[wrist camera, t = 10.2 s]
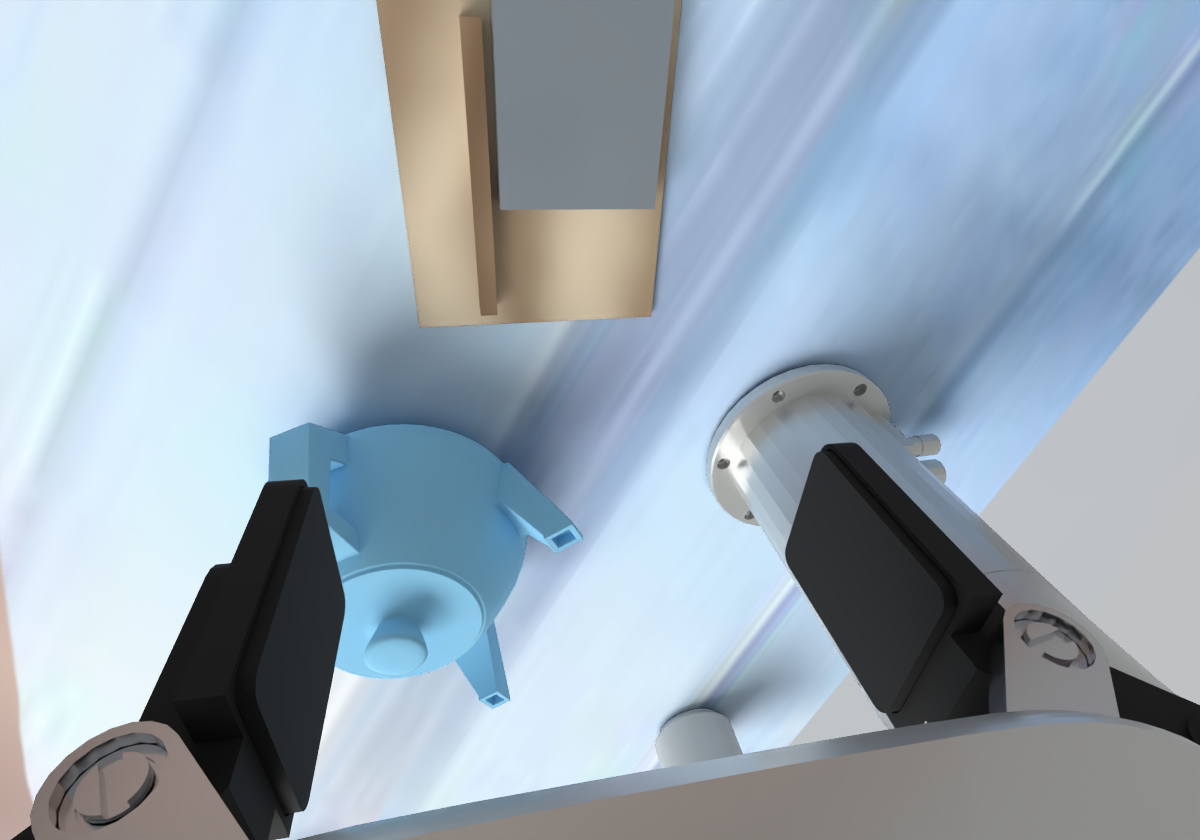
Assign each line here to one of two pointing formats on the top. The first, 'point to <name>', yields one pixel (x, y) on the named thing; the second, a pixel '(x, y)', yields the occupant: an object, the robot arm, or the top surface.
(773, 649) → the top surface
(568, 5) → the tile
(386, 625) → the teapot
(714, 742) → the can
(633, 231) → the wooden ridged plate
